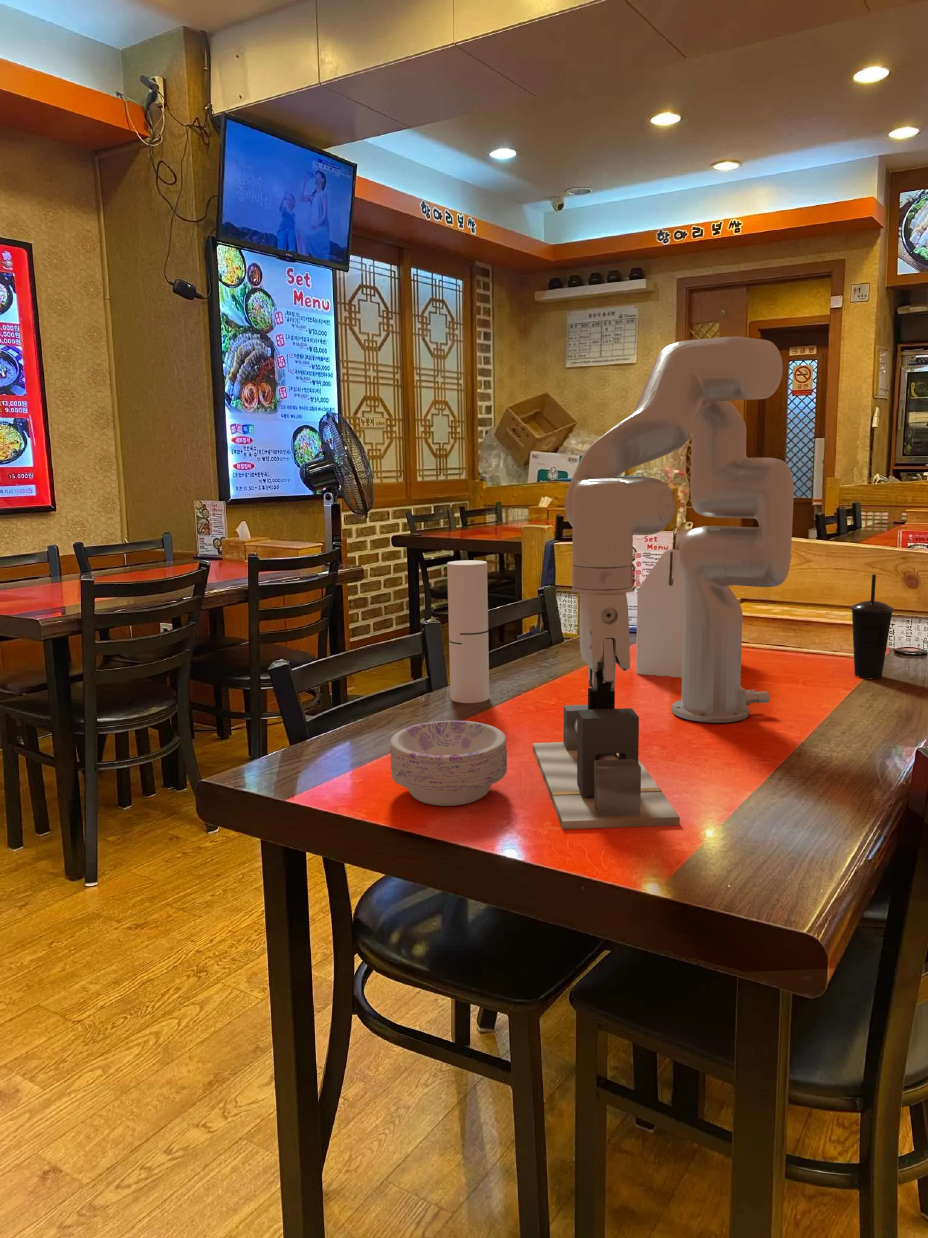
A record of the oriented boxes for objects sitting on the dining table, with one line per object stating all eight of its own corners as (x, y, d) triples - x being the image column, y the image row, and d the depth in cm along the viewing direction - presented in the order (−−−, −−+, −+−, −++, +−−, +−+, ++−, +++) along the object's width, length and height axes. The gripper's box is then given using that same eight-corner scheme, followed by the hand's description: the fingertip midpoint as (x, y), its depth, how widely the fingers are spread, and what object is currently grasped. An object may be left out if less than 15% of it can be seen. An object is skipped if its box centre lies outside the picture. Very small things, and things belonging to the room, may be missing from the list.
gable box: (702, 680, 177) (706, 536, 172) (635, 674, 183) (637, 535, 178) (722, 657, 197) (725, 527, 192) (661, 652, 202) (663, 526, 198)
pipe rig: (532, 749, 137) (532, 704, 136) (625, 746, 138) (625, 701, 136) (562, 829, 108) (562, 772, 106) (679, 825, 108) (680, 768, 107)
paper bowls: (415, 824, 110) (413, 761, 109) (376, 784, 124) (374, 728, 122) (527, 803, 116) (527, 743, 115) (478, 767, 130) (477, 714, 128)
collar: (577, 784, 118) (577, 709, 116) (630, 782, 118) (631, 708, 117) (582, 795, 114) (582, 718, 112) (637, 793, 114) (638, 717, 113)
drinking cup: (892, 674, 178) (898, 572, 175) (886, 682, 172) (893, 577, 169) (850, 670, 182) (856, 571, 179) (843, 678, 176) (848, 575, 173)
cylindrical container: (485, 703, 163) (483, 564, 159) (446, 702, 165) (443, 564, 160) (492, 693, 170) (490, 560, 166) (454, 692, 172) (451, 560, 167)
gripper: (645, 586, 108) (643, 735, 111) (619, 571, 123) (617, 703, 126) (582, 587, 108) (582, 737, 111) (563, 572, 123) (563, 704, 126)
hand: (601, 718), depth 118 cm, fingers closed
